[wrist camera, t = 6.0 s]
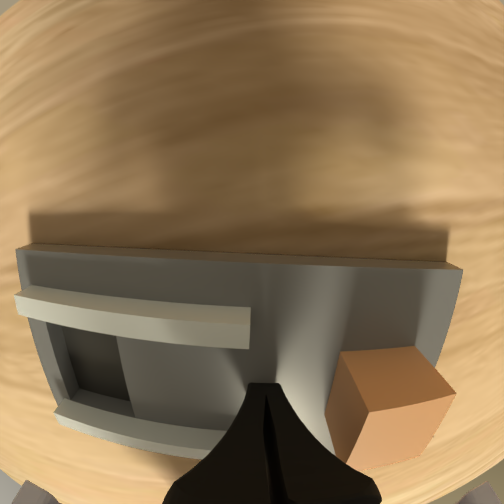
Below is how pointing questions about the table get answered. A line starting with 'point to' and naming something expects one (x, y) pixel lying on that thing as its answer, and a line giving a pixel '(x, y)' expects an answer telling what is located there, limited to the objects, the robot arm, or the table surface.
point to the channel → (213, 333)
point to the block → (385, 406)
